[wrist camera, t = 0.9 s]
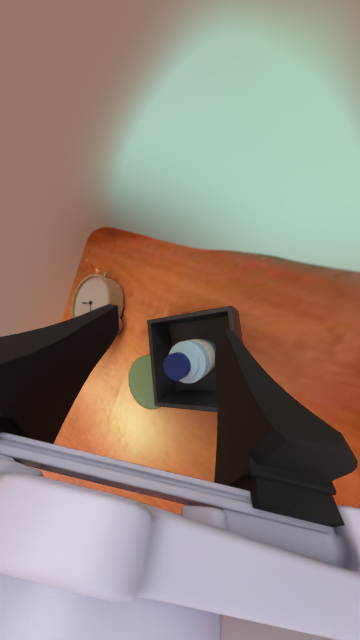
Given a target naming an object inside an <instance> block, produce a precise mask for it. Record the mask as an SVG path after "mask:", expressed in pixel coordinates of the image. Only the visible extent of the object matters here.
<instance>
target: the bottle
mask: <svg viewBox="0 0 360 640" xmlns="http://www.w3.org/2000/svg"><path fill="white" fill-rule="evenodd" d="M216 348H217V347H216V345H215V344H214V343H213V342H212V341H210V340H208V339H193V340H187V341H182V342H179V343H177V344H175V345H174V346H173V347H172V349H171V350H170V352H169V355H168V356H167V357H166V358H165V360H164V365H163V366H164V371H165V373H166V375H167V376H168V377H169V378H170V379H172V380H179V381H181V382H183V383H194V382H196V381H198V380H199V379H201V378H202V377H204V376H205V375H206V374H208V373H209V372H210V371H211V370H212V369H213V368H214V367H215V350H216Z"/></svg>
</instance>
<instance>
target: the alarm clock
mask: <svg viewBox="0 0 360 640" xmlns="http://www.w3.org/2000/svg"><path fill="white" fill-rule="evenodd" d="M106 276H107V271H105V272H104V274H103V276H102V275H100V274H90V275H88V276H86V277H85V278H84V279H83V280H81V282H80V283H79V285H78V286H77V288H76V290H75V292H74V295H73V298H72V302H71V317H72V318H75V317H77V316H80V315H82V314H85V313H87V312H90V311H92V310H95V309H97V308H99V307H102V306H105V305H107V304H112V305H117V306H118V314H119V332H118V334H119V333H120V332H121V330H122V327H123V323H122V320H121V319H120V316H121V314H122V310H123V293H122V290H121V287H120V286H119V285H118V283H117V282H115V281H114V280H112V279H109V278H106ZM118 334H117V335H118ZM110 346H111V345H110ZM108 349H109V348H108Z"/></svg>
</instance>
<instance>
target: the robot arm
mask: <svg viewBox="0 0 360 640" xmlns="http://www.w3.org/2000/svg"><path fill="white" fill-rule="evenodd" d="M118 332H119V314H118V306H117V305H112V304H107V305H105V306H102V307H99V308H97V309H95V310H92V311H90V312H87V313H85V314H82V315H80V316H77V317H75V318H72V319H69V320H66V321H64V322H61V323H58V324H54V325H51V326H48V327H44V328H40V329H36V330H32V331H27V332H23V333H19V334H14V335H9V336H4V337H0V640H360V509H358V508H354V507H349V506H337V505H336V503H335V501H334V499H333V496H332V495H335V494H336V490H335V488H334V486H333V483H332V481H333V480H335V479H337V478H340V477H342V476H345V475H347V474H349V473H351V472H353V471H354V470H355V469H356V467H357V465H358V461H357V459H356V457H355V456H354V454H353V452H352V451H351V449H350V447H349V446H348V444H347V442H346V441H345V439H344V437H343V435H342V434H341V433H340V432H338V431H337V430H336V429H334V428H333V427H331V426H330V425H329V424H327V423H326V422H324V421H323V420H321V419H320V418H319V417H317V416H316V415H314V414H313V413H312V412H311V411H309V410H308V409H307V408H305V407H304V406H303V405H302V404H300V403H299V402H298V401H297V400H295V399H294V398H293V397H292V396H291V395H289V394H288V393H287V392H286V391H285V390H284V389H283V388H282V387H280V386H279V385H278V384H277V383H276V382H275V381H274V380H273V379H272V378H271V377H270V376H269V375H268V374H267V373H266V372H265V371H264V370H263V368H262V367H261V366H260V365H259V364H258V363H257V362H256V360H255V359H254V358H253V357H252V355H251V354H250V353H249V352H248V350H247V349H246V348H245V346H244V345H243V343H242V342H241V341H240V339H239V338H238V336H237V335H236V334H235V332H234V331H233V330H229V329H224V330H223V332H222V335H221V337H220V340H219V343H218V345H217V348H216V350H215V373H216V384H217V395H218V425H217V451H216V467H215V481H214V482H209V481H205V480H201V479H197V478H193V477H189V476H184V475H180V474H176V473H172V472H168V471H163V470H159V469H155V468H151V467H147V466H142V465H138V464H134V463H130V462H126V461H122V460H117V459H113V458H109V457H105V456H101V455H96V454H92V453H88V452H84V451H80V450H76V449H71V448H67V447H63V446H59V445H55V444H53V443H54V441H55V439H56V437H57V435H58V433H59V431H60V429H61V427H62V424H63V422H64V420H65V418H66V416H67V414H68V412H69V410H70V409H71V407H72V405H73V403H74V401H75V399H76V397H77V395H78V394H79V392H80V390H81V388H82V386H83V385H84V383H85V381H86V380H87V378H88V376H89V375H90V373H91V371H92V370H93V368H94V367H95V366H96V364H97V363H98V362H99V360H100V359H101V358H102V356H103V355H104V354H105V352H106V351H107V349H108V348H109V347H110V345H111V344H112V342H113V341H114V339H115V337H116V335H117V334H118ZM29 466H30V467H29ZM31 467H34V468H38V469H42V470H46V471H50V472H54V473H58V474H62V475H67V476H71V477H75V478H79V479H83V480H87V481H91V482H95V483H99V484H103V485H108V486H112V487H116V488H120V489H124V490H128V491H132V492H136V493H140V494H144V495H149V496H153V497H157V498H161V499H165V500H169V501H173V502H177V503H181V504H186V505H184V506H183V507H182V514H176V513H173V512H169V511H166V510H163V509H160V508H157V507H154V506H151V505H148V504H145V503H141V502H138V501H135V500H132V499H129V498H125V497H122V496H119V495H115V494H111V493H107V492H103V491H99V490H95V489H91V488H87V487H83V486H79V485H74V484H70V483H66V482H62V481H58V480H54V479H50V478H46V477H44V476H43V474H42V472H41V471H39V470H37V469H34V468H31ZM189 505H190V506H189Z"/></svg>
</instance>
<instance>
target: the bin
mask: <svg viewBox="0 0 360 640" xmlns="http://www.w3.org/2000/svg"><path fill="white" fill-rule="evenodd" d="M147 322H148V334H149V346H150V358H151V370H152V382H153V393H154V405H155V406H160V407H170V408H180V409H190V410H200V411H210V412H218V395H217V384H216V373H215V367H214V368H213V369H212V370H211V371H210V372H209V373H208V374H206V375H205V376H204V377H202V378H201V379H199V380H198V381H196V382H194V383H183V382H181V381H179V380H172V379H170V378H169V377H168V376H167V375H166V373H165V371H164V366H163V365H164V360H165V358H166V357H167V356H168V355H169V352H170V350H171V349H172V347H173V346H174V345H175V344H177V343H179V342H182V341H187V340H193V339H208V340H210V341H212V342H213V343H214V344H215V345H216V347H217V345H218V343H219V340H220V337H221V335H222V332H223V330H224V329H229V330H233V331H234V332H235V334H236V335H237V336H238V338H239V339H240V341H241V342H242V343H243V341H242V334H241V327H240V320H239V313H238V311H237V310H236V309H235V308H233V307H232V306H227V307H221V308H216V309H210V310H204V311H198V312H193V313H187V314H181V315H175V316H170V317H164V318H158V319H152V320H147Z"/></svg>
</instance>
